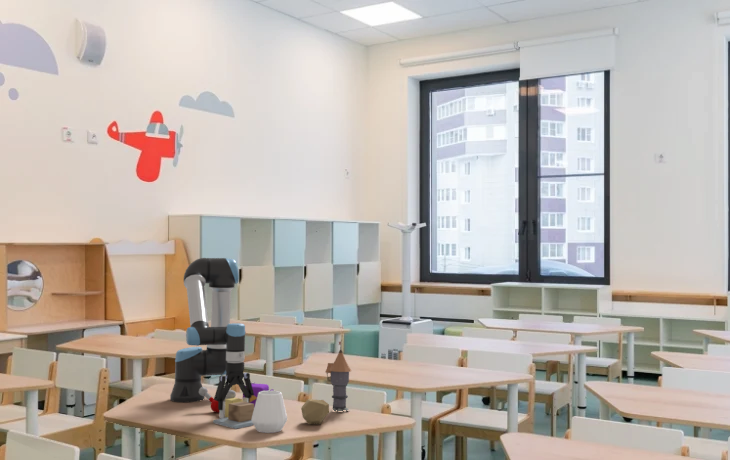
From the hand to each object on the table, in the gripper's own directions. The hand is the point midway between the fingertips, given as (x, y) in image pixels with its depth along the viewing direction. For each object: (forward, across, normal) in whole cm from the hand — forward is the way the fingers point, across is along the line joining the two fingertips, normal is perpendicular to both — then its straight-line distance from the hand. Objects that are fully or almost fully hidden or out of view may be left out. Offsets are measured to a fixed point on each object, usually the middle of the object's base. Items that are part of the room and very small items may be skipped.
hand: (233, 415), depth 287 cm
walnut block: (-1, -5, -11) cm, 12 cm away
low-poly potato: (+1, +16, -32) cm, 36 cm away
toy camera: (0, +20, +8) cm, 22 cm away
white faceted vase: (+1, -5, -28) cm, 28 cm away
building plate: (0, -5, -11) cm, 12 cm away
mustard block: (0, 0, 0) cm, 0 cm away
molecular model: (0, 0, +11) cm, 11 cm away
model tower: (0, +39, -22) cm, 45 cm away
